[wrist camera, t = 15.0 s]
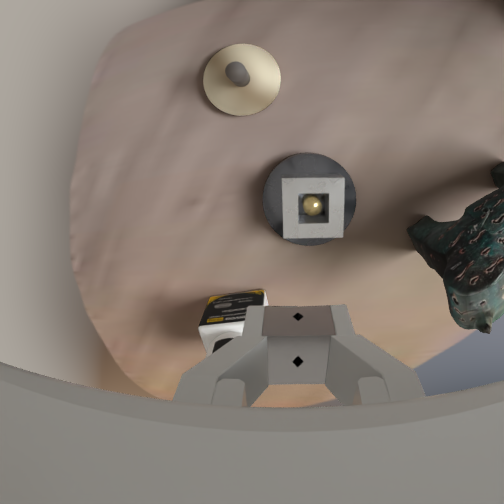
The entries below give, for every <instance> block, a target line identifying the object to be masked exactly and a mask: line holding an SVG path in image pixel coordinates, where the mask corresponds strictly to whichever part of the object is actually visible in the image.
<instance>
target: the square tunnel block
mask: <svg viewBox="0 0 504 504" xmlns="http://www.w3.org/2000/svg"><path fill="white" fill-rule="evenodd" d="M281 175H282V207H283V239H286V238H343V227H344V188H345V178H344V177H343V176H342V175H340V174H339V173H305V174H281ZM303 193H325V215H314V216H311V215H298V194H303Z"/></svg>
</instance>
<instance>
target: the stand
mask: <svg viewBox="0 0 504 504" xmlns="http://www.w3.org/2000/svg"><path fill="white" fill-rule="evenodd" d="M280 83H281V75H280V70H279V67H278V65H277V63H276V61H275V60H274V58H273V57H272V56H271V55H270V54H269V53H268V52H267V51H265V50H264V49H262V48H260V47H257V46H254V45H250V44H236V45H231V46H228V47H226V48H224V49H222V50H220V51H219V52H218V53H216V54H215V55H214V56H213V57H212V58H211V60H210V61H209V63H208V64H207V66H206V69H205V72H204V77H203V85H204V89H205V93H206V95H207V97H208V98H209V100H210V101H211V102H212V104H213V105H214V106H216V107H217V108H218V109H220V110H221V111H223V112H225V113H228V114H232V115H237V116H247V115H252V114H256V113H258V112H260V111H262V110H264V109H265V108H267V107H268V106H269V105H270V104H271V103H272V102H273V101H274V99H275V98H276V96H277V94H278V92H279V89H280Z"/></svg>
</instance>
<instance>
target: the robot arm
mask: <svg viewBox="0 0 504 504" xmlns="http://www.w3.org/2000/svg"><path fill="white" fill-rule="evenodd" d="M273 384H325V386H326V387H327V388H328V389H329V390H330V391H331V392H332V394H333V395H334V396H335V397H336V398H337V399H338V400H339V401H340V403H341V404H342V405H343V406H332V407H302V408H271V407H250V406H251V405H252V404H253V403H254V402H255V401H256V400H257V399H258V397H259V396H260V395H261V394H262V393H263V392H264V390H265V389H266V388H267V387H268V385H273ZM0 504H504V380H503V381H500V382H496V383H492V384H488V385H484V386H479V387H475V388H470V389H466V390H461V391H456V392H451V393H446V394H440V395H434V396H429V397H426V396H425V393H424V391H423V388H422V386H421V384H420V381H419V379H418V376H417V374H416V372H415V371H414V370H413V369H411V368H410V367H408V366H406V365H405V364H403V363H402V362H400V361H399V360H397V359H396V358H394V357H393V356H391V355H390V354H388V353H387V352H385V351H384V350H382V349H381V348H379V347H378V346H376V345H375V344H373V343H372V342H370V341H369V340H367V339H366V338H364V337H363V336H361V335H360V334H359V335H355V332H354V328H353V325H352V322H351V318H350V315H349V312H348V309H347V306H346V305H345V304H342V305H326V306H302V307H297V306H248V307H247V312H246V317H245V322H244V327H243V332H242V336H236V337H235V338H234V339H232V340H231V341H229V342H228V343H227V344H225V345H224V346H222V347H221V348H220V349H218V350H217V351H215V352H214V353H212V354H211V355H210V356H208V357H207V358H205V359H204V360H202V361H201V362H200V363H198V364H197V365H195V366H194V367H192V368H191V369H189V370H188V371H187V372H185V373H184V374H182V377H181V379H180V382H179V385H178V387H177V390H176V393H175V395H174V398H173V401H170V400H162V399H155V398H148V397H141V396H135V395H129V394H124V393H118V392H112V391H107V390H102V389H98V388H93V387H88V386H84V385H79V384H75V383H71V382H67V381H63V380H59V379H55V378H51V377H47V376H44V375H40V374H37V373H33V372H30V371H26V370H23V369H20V368H17V367H14V366H11V365H8V364H5V363H2V362H0Z"/></svg>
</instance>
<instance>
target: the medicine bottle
mask: <svg viewBox="0 0 504 504" xmlns="http://www.w3.org/2000/svg"><path fill="white" fill-rule="evenodd" d="M248 306H268V301H267V297H266V292H265V290H263V289H261V290H255V291H248V292H241V293H233V294H226V295H219V296H212V297H210V298H209V301H208V303H207V306H206V309H205V311H204V314H203V316H202V319H201V322H200V324H199V327H198V330H199V333H200V336H201V339H202V341H203V344H204V347H205V350H206V352H207V354H206V358H207V357H208V356H210V355H211V354H212V353H214V352H215V351H217V350H218V349H220V348H221V347H222V346H224V345H225V344H227V343H228V342H229V341H231V340H232V339H234V338H235V337H236V336H242V332H243V327H244V322H245V317H246V312H247V307H248Z"/></svg>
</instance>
